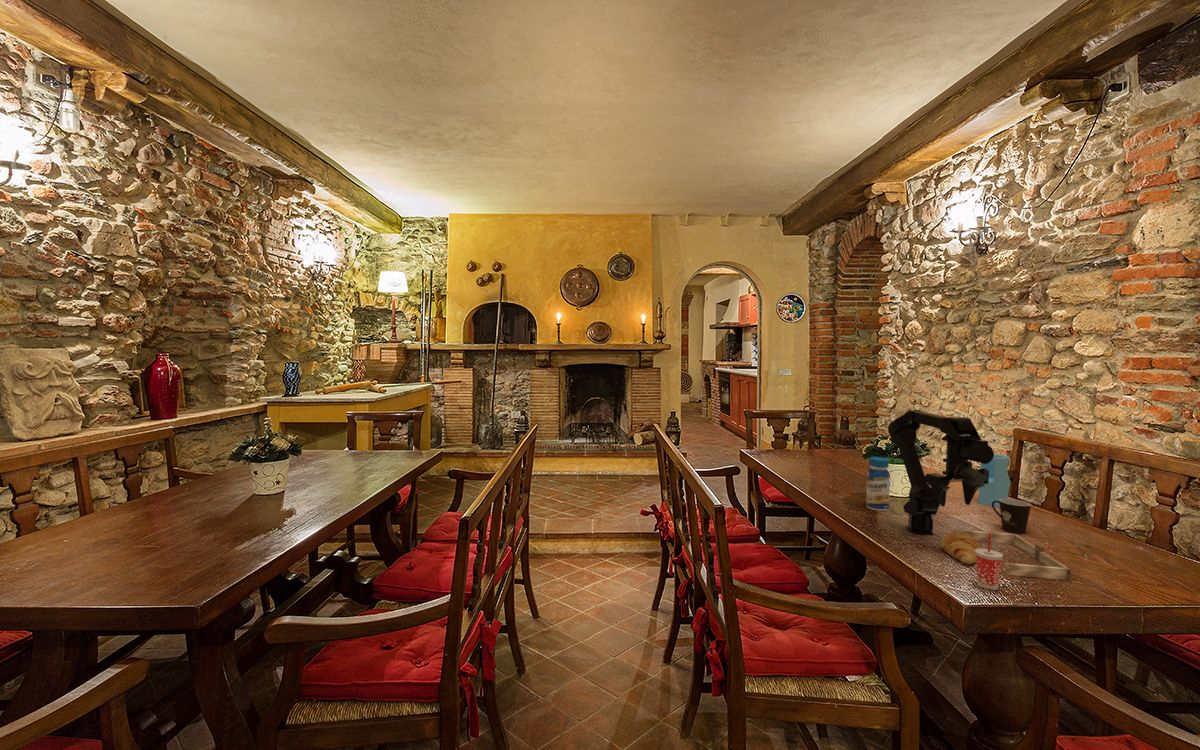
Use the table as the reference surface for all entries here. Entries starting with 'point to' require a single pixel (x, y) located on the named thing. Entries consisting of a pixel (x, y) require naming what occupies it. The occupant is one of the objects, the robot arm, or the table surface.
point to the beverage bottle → (878, 484)
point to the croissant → (960, 546)
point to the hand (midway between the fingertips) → (955, 505)
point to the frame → (1051, 567)
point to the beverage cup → (988, 567)
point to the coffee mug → (1013, 515)
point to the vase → (995, 481)
